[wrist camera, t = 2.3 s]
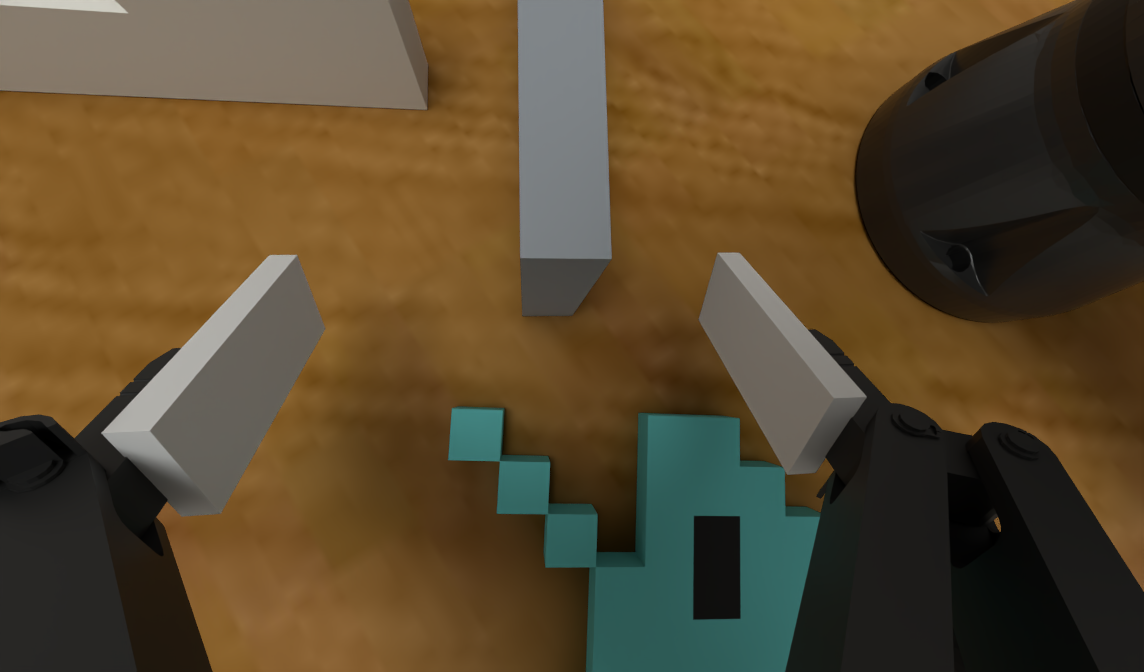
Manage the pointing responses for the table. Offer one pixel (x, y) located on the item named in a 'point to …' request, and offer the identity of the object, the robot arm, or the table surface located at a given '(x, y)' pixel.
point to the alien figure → (672, 546)
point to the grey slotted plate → (562, 153)
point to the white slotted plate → (217, 50)
